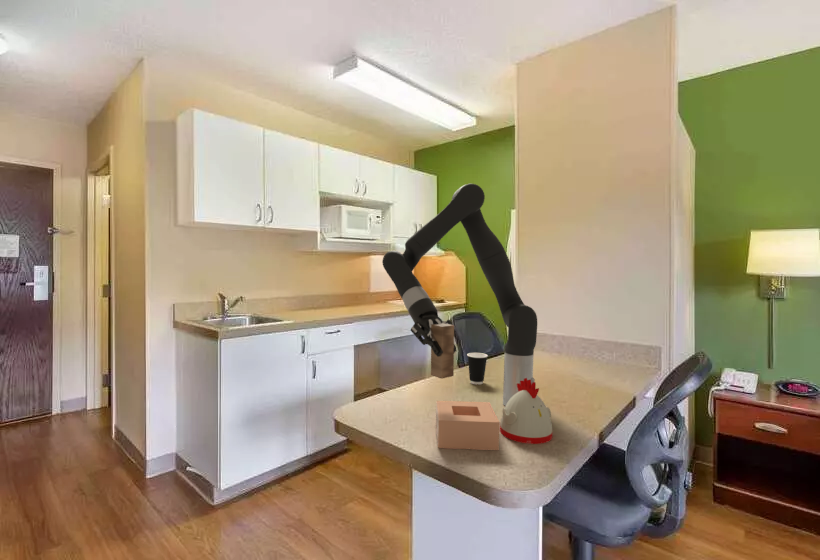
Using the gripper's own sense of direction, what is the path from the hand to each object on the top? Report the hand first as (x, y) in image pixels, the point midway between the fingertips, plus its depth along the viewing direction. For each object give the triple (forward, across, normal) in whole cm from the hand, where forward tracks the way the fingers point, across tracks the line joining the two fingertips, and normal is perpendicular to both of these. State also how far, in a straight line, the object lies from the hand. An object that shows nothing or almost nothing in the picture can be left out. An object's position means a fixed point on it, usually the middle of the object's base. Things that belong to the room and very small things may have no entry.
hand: (447, 353), depth 113 cm
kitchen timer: (+25, +17, +7) cm, 31 cm away
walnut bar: (+3, 0, +6) cm, 7 cm away
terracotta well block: (+19, +2, +12) cm, 22 cm away
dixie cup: (-5, +42, +36) cm, 56 cm away
